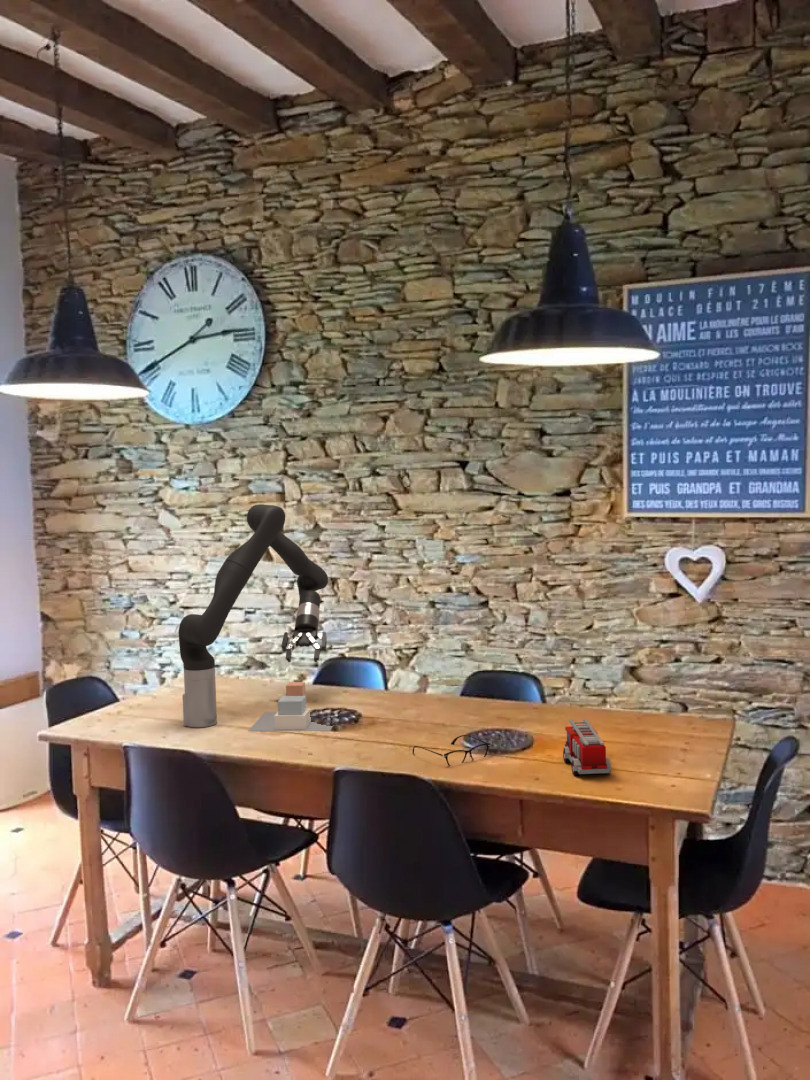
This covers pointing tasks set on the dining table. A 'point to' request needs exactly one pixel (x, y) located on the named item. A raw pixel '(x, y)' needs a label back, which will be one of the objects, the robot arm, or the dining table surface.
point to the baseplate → (268, 725)
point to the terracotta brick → (295, 689)
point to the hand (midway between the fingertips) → (302, 660)
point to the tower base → (292, 721)
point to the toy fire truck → (585, 750)
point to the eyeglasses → (459, 750)
